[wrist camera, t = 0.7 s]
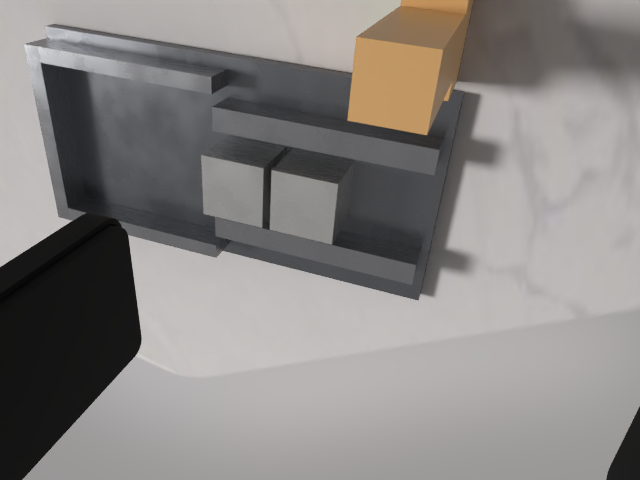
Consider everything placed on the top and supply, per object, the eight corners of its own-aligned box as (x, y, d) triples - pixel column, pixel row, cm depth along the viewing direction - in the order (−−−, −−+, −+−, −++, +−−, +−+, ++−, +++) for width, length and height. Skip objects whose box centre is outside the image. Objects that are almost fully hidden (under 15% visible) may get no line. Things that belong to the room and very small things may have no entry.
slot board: (53, 24, 36) (21, 31, 34) (464, 91, 30) (458, 106, 28) (85, 209, 44) (60, 225, 42) (420, 293, 38) (413, 318, 35)
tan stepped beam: (418, -26, 28) (359, 5, 18) (477, -19, 28) (449, 18, 18) (403, 72, 31) (344, 145, 21) (456, 81, 30) (422, 160, 20)
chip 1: (227, 135, 36) (201, 155, 33) (285, 147, 35) (263, 168, 32) (228, 191, 38) (203, 213, 35) (282, 203, 37) (262, 227, 34)
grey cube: (293, 148, 34) (271, 170, 32) (354, 161, 34) (338, 184, 31) (289, 205, 37) (269, 229, 34) (347, 218, 36) (331, 244, 33)
